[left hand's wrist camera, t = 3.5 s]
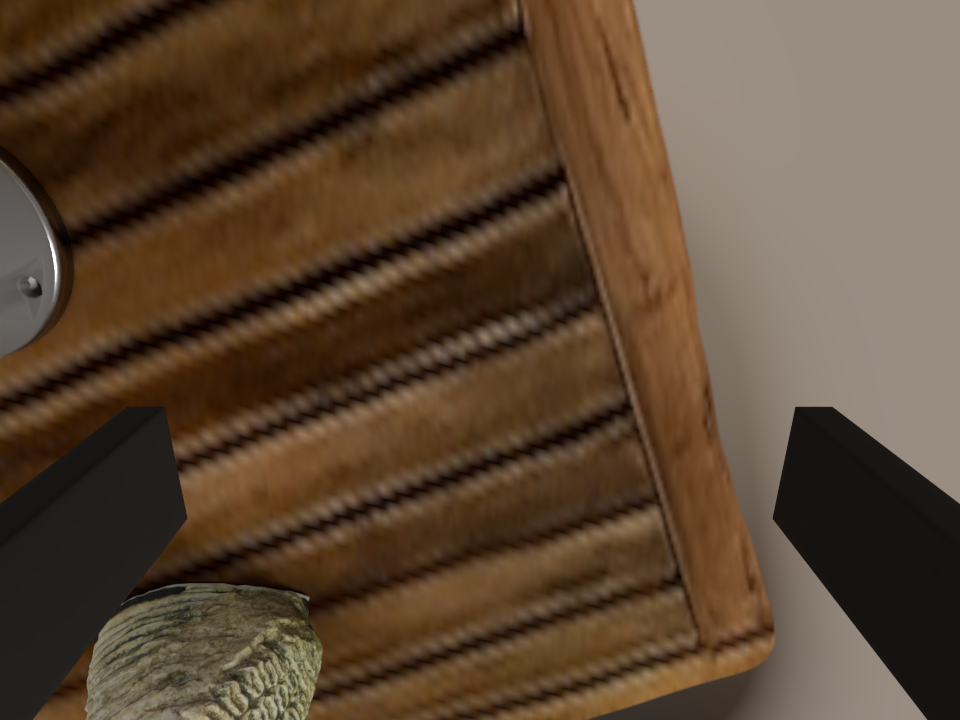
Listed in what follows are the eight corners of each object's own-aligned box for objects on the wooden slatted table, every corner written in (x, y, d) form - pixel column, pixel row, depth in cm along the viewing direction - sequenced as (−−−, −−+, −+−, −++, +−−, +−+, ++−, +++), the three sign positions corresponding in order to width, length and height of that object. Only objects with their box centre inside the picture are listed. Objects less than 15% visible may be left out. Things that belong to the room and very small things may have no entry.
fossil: (349, 633, 50) (298, 828, 36) (148, 676, 52) (24, 878, 37) (312, 549, 47) (240, 725, 33) (99, 597, 49) (-56, 785, 34)
